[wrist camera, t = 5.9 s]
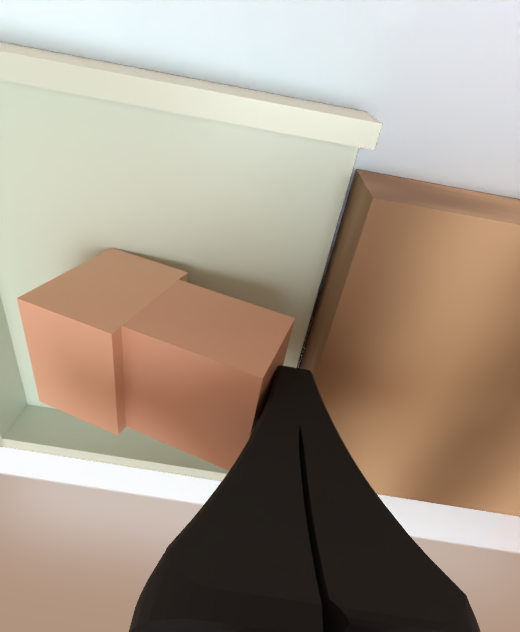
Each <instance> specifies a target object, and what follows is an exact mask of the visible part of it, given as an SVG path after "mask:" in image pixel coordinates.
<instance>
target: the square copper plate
mask: <svg viewBox="0 0 520 632" xmlns="http://www.w3.org/2000/svg"><path fill="white" fill-rule="evenodd" d="M299 368H300V369H306V370H310V371H311V373H312V374H313V377H314V380H315V383H316V385H317V388H318V390H319V393H320V395H321V398H322V400H323V402H324V405H325V407H326V409H327V411H328V413H329V415H330V417H331V419H332V421H333V423H334V425H335V427H336V429H337V431H338V433H339V435H340V437H341V439H342V441H343V442H344V444H345V446H346V448H347V449H348V451H349V453H350V455H351V456H352V458H353V460H354V461H355V463H356V464H357V466H358V468H359V469H360V471H361V472H362V474H363V475H364V477H365V478H366V480H367V481H368V483H369V484H370V486H371V487H372V488H373V490H374V491H375V493H376V494H380V495H387V496H393V497H399V498H406V499H412V500H418V501H425V502H431V503H437V504H444V505H450V506H456V507H463V508H469V509H475V510H482V511H488V512H494V513H501V514H507V515H513V516H520V200H519V199H514V198H509V197H503V196H498V195H492V194H487V193H482V192H476V191H471V190H466V189H460V188H455V187H449V186H444V185H439V184H433V183H428V182H423V181H417V180H412V179H406V178H401V177H396V176H390V175H385V174H380V173H374V172H369V171H363V170H358V169H356V172H355V175H354V179H353V182H352V186H351V189H350V193H349V196H348V200H347V203H346V207H345V210H344V214H343V217H342V221H341V224H340V227H339V231H338V234H337V238H336V241H335V245H334V248H333V252H332V255H331V259H330V262H329V266H328V269H327V272H326V276H325V279H324V283H323V286H322V290H321V293H320V297H319V300H318V304H317V307H316V311H315V314H314V318H313V321H312V324H311V328H310V331H309V335H308V338H307V342H306V345H305V349H304V352H303V356H302V359H301V363H300V366H299Z"/></svg>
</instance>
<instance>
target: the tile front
mask: <svg viewBox="0 0 520 632" xmlns="http://www.w3.org/2000/svg"><path fill="white" fill-rule="evenodd" d="M294 321H295V318H293V317H290V316H287V315H284V314H281V313H278V312H275V311H272V310H269V309H266V308H263V307H260V306H257V305H254V304H251V303H248V302H245V301H242V300H239V299H236V298H233V297H230V296H227V295H224V294H221V293H218V292H215V291H212V290H209V289H206V288H203V287H200V286H197V285H194V284H191V283H188V282H185V281H182V280H177V281H176V282H175V283H174V284H172V285H171V286H170V287H169V288H167V289H166V290H165V291H164V292H163V293H161V294H160V295H159V296H158V297H156V298H155V299H154V300H153V301H151V302H150V303H149V304H148V305H146V306H145V307H144V308H143V309H141V310H140V311H139V312H138V313H137V314H135V315H134V316H133V317H132V318H130V319H129V320H128V321H127V322H125V323H124V324H123V325H122V326H121V330H122V352H123V374H124V396H125V418H126V427H128V428H130V429H133V430H135V431H137V432H140V433H142V434H144V435H147V436H149V437H151V438H154V439H156V440H158V441H161V442H163V443H165V444H168V445H170V446H172V447H175V448H177V449H179V450H182V451H184V452H186V453H189V454H191V455H193V456H196V457H198V458H200V459H203V460H205V461H207V462H210V463H212V464H214V465H217V466H219V467H221V468H224V469H226V470H228V471H229V470H230V469H231V467H232V466H233V465H234V463H235V461H236V460H237V458H238V457H239V455H240V454H241V452H242V450H243V449H244V447H245V445H246V443H247V442H248V440H249V438H250V436H251V435H252V433H253V431H254V429H255V427H256V425H257V423H258V421H259V419H260V417H261V415H262V413H263V410H264V408H265V405H266V403H267V400H268V398H269V395H270V391H271V387H272V383H273V379H274V374H275V371H276V369H277V367H278V366H279V365H282V366H283V363H284V360H285V356H286V352H287V348H288V344H289V340H290V336H291V332H292V328H293V325H294Z"/></svg>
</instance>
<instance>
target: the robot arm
mask: <svg viewBox="0 0 520 632" xmlns="http://www.w3.org/2000/svg"><path fill="white" fill-rule="evenodd" d="M129 632H480V629H479V626H478V623H477V620H476V618H475V615H474V613H473V611H472V608H471V606H470V604H469V601H468V599H467V596H466V595H465V594H464V593H463V592H462V591H461V590H460V589H459V587H458V586H456V584H455V583H453V582H452V581H451V579H450V578H449V577H448V576H447V575H445V573H444V572H443V571H442V570H441V569H440V568H439V567H438V566H437V565H436V564H435V563H434V562H433V561H432V560H431V559H430V558H429V557H428V556H427V555H426V554H425V553H424V552H423V550H422V549H421V548H420V547H419V546H418V545H417V544H416V543H415V542H414V540H413V539H412V538H411V537H410V536H409V535H408V533H407V532H406V531H405V530H404V529H403V527H402V526H401V525H400V524H399V522H398V521H397V520H396V519H395V517H394V516H393V515H392V514H391V512H390V511H389V510H388V509H387V507H386V506H385V505H384V504H383V502H382V501H381V500H380V498H379V497H378V495H377V494H376V493H375V491H374V490H373V488H372V487H371V486H370V484H369V483H368V481H367V480H366V478H365V477H364V475H363V474H362V472H361V471H360V469H359V468H358V466H357V464H356V463H355V461H354V460H353V458H352V456H351V455H350V453H349V451H348V449H347V448H346V446H345V444H344V442H343V441H342V439H341V437H340V435H339V433H338V431H337V429H336V427H335V425H334V423H333V421H332V419H331V417H330V415H329V413H328V411H327V409H326V407H325V405H324V402H323V400H322V398H321V395H320V393H319V390H318V388H317V385H316V383H315V380H314V377H313V374H312V373H311V371H310V370H306V369H300V368H294V367H288V366H282V365H279V366H278V367H277V369H276V371H275V374H274V379H273V383H272V387H271V391H270V395H269V398H268V400H267V403H266V405H265V408H264V410H263V413H262V415H261V417H260V419H259V421H258V423H257V425H256V427H255V429H254V431H253V433H252V435H251V436H250V438H249V440H248V442H247V443H246V445H245V447H244V449H243V450H242V452H241V454H240V455H239V457H238V458H237V460H236V461H235V463H234V465H233V466H232V467H231V469H230V470H229V472H228V473H227V475H226V476H225V478H224V479H223V481H222V482H221V483H220V485H219V486H218V488H217V489H216V490H215V491H214V493H213V494H212V495H211V497H210V498H209V499H208V500H207V502H206V503H205V504H204V505H203V507H202V508H201V509H200V511H199V512H198V513H197V514H196V515H195V517H194V518H193V519H192V520H191V522H189V524H188V525H187V526H186V527H185V528H184V529H183V530H182V531H181V533H180V534H179V535H178V536H177V537H176V538H175V539H174V540H173V542H172V543H171V544H170V545H169V546H168V547H167V549H166V551H165V553H164V554H163V556H162V558H161V559H160V561H159V563H158V564H157V566H156V568H155V569H154V571H153V573H152V574H151V576H150V578H149V579H148V581H147V583H146V585H145V587H144V589H143V591H142V593H141V595H140V597H139V600H138V602H137V605H136V607H135V611H134V615H133V619H132V622H131V626H130V630H129Z"/></svg>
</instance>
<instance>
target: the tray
mask: <svg viewBox="0 0 520 632" xmlns="http://www.w3.org/2000/svg"><path fill="white" fill-rule="evenodd" d="M381 127H382V123H381V122H379V121H378V120H377V119H375V118H374V117H373V116H371V115H370V114H369V113H367V112H366V111H360V110H355V109H350V108H345V107H340V106H334V105H329V104H324V103H319V102H313V101H308V100H303V99H298V98H293V97H287V96H282V95H277V94H272V93H266V92H261V91H256V90H251V89H245V88H240V87H235V86H230V85H225V84H219V83H214V82H209V81H204V80H198V79H193V78H188V77H183V76H178V75H172V74H167V73H162V72H157V71H151V70H146V69H141V68H136V67H130V66H125V65H120V64H115V63H110V62H104V61H99V60H94V59H89V58H83V57H78V56H73V55H68V54H62V53H57V52H52V51H47V50H42V49H36V48H31V47H26V46H21V45H15V44H10V43H5V42H0V447H7V448H13V449H20V450H26V451H32V452H39V453H45V454H51V455H58V456H64V457H70V458H77V459H83V460H90V461H96V462H102V463H109V464H115V465H121V466H128V467H134V468H141V469H147V470H153V471H160V472H166V473H172V474H179V475H185V476H191V477H198V478H204V479H211V480H217V481H223V479H224V478H225V476H226V475H227V473H228V472H229V471H228V470H226V469H224V468H221V467H219V466H217V465H214V464H212V463H210V462H207V461H205V460H203V459H200V458H198V457H196V456H193V455H191V454H189V453H186V452H184V451H182V450H179V449H177V448H175V447H172V446H170V445H168V444H165V443H163V442H161V441H158V440H156V439H154V438H151V437H149V436H147V435H144V434H142V433H140V432H137V431H135V430H133V429H130V428H128V427H125V428H124V430H123V431H122V432H121V433H120V434H119V435H116V434H113V433H111V432H109V431H106V430H104V429H102V428H100V427H97V426H95V425H93V424H90V423H88V422H86V421H84V420H81V419H79V418H77V417H74V416H72V415H70V414H67V413H65V412H63V411H61V410H58V409H56V408H54V407H51V406H49V405H47V404H45V403H42V402H40V401H39V397H38V392H37V388H36V383H35V379H34V374H33V370H32V365H31V361H30V356H29V351H28V347H27V342H26V338H25V333H24V329H23V324H22V320H21V315H20V311H19V306H18V302H17V298H18V297H20V296H22V295H24V294H25V293H27V292H29V291H31V290H33V289H35V288H37V287H39V286H40V285H42V284H44V283H46V282H48V281H50V280H52V279H54V278H55V277H57V276H59V275H61V274H63V273H65V272H67V271H69V270H70V269H72V268H74V267H76V266H78V265H80V264H82V263H84V262H85V261H87V260H89V259H91V258H93V257H95V256H97V255H99V254H100V253H102V252H104V251H106V250H108V249H110V248H115V249H118V250H121V251H124V252H127V253H130V254H133V255H136V256H139V257H142V258H145V259H149V260H152V261H155V262H158V263H161V264H164V265H167V266H170V267H173V268H176V269H179V270H182V271H185V272H188V276H187V282H188V283H191V284H194V285H197V286H200V287H203V288H206V289H209V290H212V291H215V292H218V293H221V294H224V295H227V296H230V297H233V298H236V299H239V300H242V301H245V302H248V303H251V304H254V305H257V306H260V307H263V308H266V309H269V310H272V311H275V312H278V313H281V314H284V315H287V316H290V317H293V318H295V321H294V325H293V328H292V332H291V336H290V340H289V344H288V348H287V352H286V356H285V360H284V363H283V366H288V367H294V368H297V364H298V361H299V357H300V354H301V350H302V347H303V343H304V340H305V336H306V333H307V329H308V326H309V322H310V319H311V315H312V312H313V308H314V305H315V301H316V298H317V294H318V290H319V287H320V283H321V280H322V276H323V273H324V269H325V266H326V262H327V259H328V255H329V252H330V248H331V245H332V241H333V238H334V234H335V231H336V227H337V224H338V220H339V216H340V213H341V209H342V206H343V202H344V199H345V195H346V192H347V188H348V185H349V181H350V178H351V174H352V171H353V167H354V164H355V160H356V157H357V153H358V150H359V148H365V149H370V150H375V147H376V144H377V140H378V137H379V134H380V131H381Z"/></svg>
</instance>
